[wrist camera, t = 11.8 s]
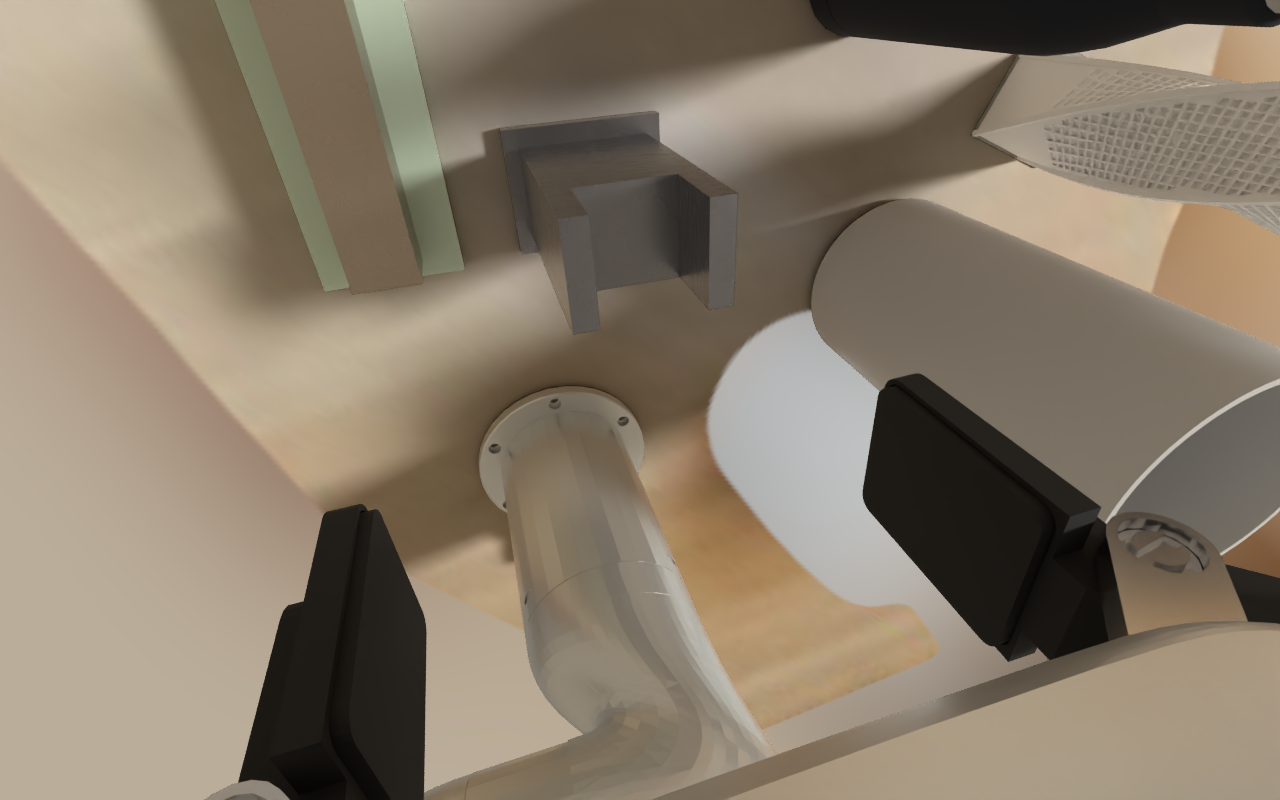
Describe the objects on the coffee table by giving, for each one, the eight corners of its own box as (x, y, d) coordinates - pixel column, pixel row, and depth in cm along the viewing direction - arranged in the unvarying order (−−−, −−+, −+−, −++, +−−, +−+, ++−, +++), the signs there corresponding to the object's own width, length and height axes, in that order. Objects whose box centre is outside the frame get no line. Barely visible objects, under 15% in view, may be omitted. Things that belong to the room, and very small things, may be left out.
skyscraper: (1019, 185, 46) (1578, 370, 24) (944, 149, 43) (1514, 325, 20) (1094, 66, 42) (1842, 150, 20) (1020, 16, 39) (1817, 50, 17)
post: (659, 228, 40) (749, 322, 28) (520, 249, 38) (557, 358, 27) (654, 110, 36) (757, 165, 24) (499, 128, 34) (532, 195, 23)
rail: (422, 260, 36) (422, 283, 33) (358, 270, 35) (352, 294, 32) (255, -365, 22) (228, -418, 19) (144, -370, 22) (100, -425, 19)
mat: (464, 266, 37) (464, 269, 37) (325, 287, 36) (324, 291, 35) (311, -397, 23) (308, -406, 22) (64, -410, 21) (56, -419, 21)
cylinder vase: (926, 157, 42) (1373, 307, 22) (971, 283, 49) (1338, 482, 29) (779, 273, 44) (1070, 509, 24) (843, 378, 51) (1107, 626, 31)
